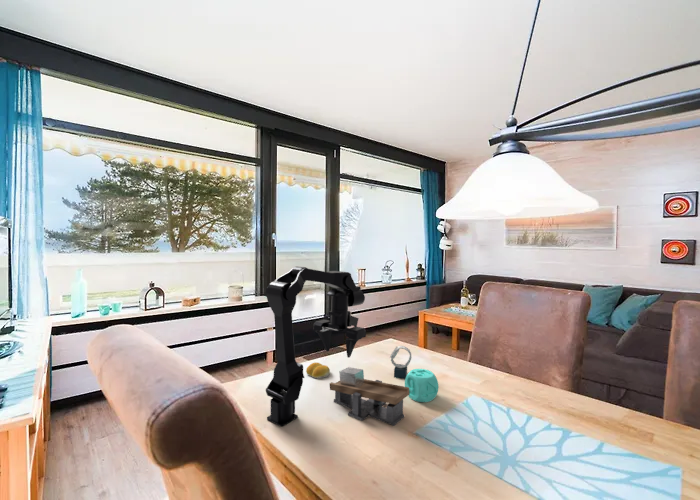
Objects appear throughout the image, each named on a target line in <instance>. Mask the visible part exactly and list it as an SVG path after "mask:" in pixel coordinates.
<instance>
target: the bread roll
mask: <svg viewBox="0 0 700 500" xmlns="http://www.w3.org/2000/svg"><path fill="white" fill-rule="evenodd" d="M330 370H331V369H330V367H329V366H328V365H324V364H322V363H320V362H312V363H311V364H309V365H308V366H307V367H306V369H305V373H306V374H307V376H309V377H312V378H313V379H323V378H326V377H328V376H329V375H330V373H331V371H330Z"/></svg>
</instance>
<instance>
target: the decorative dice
mask: <svg viewBox="0 0 700 500" xmlns="http://www.w3.org/2000/svg"><path fill="white" fill-rule="evenodd" d="M404 387H409V395H408V396H407V397H409V398H410V399H411V400H413V401H414V402H418V403H429V402H431V401H433V400H434V399H435V398H436V397H437V396H438V393H439V389H440V388H439V387H440V386H439V381H438V378H437V377H436V375H435V373H433V372H432V371H431V370H429V369H425V368H413V369H411V370H410V371H409V372H407V376H406V378H405V379H404Z"/></svg>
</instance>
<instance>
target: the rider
mask: <svg viewBox="0 0 700 500" xmlns="http://www.w3.org/2000/svg"><path fill="white" fill-rule="evenodd" d="M364 379H365V375H364V369H361V368H355V367H350V366H348V367H346V368H343V369H341V370H339V381H340V384H342V385H346V386H351V387H356V388H358V387H360V386H362V385H363V384H364Z"/></svg>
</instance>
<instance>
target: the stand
mask: <svg viewBox="0 0 700 500" xmlns="http://www.w3.org/2000/svg"><path fill="white" fill-rule="evenodd" d="M375 381H377V382H382V383H383V381H382V380H379V379H375ZM361 396H362V394H360V393H357V392H355V393H354V394H353V395H351V394H346V393H342V392H338V391H334V399H333V403H336V404H338V405H341V406H343V407H346V408H349V409H351V410H350V411H348V412H347V415H348V417H352V418H354V419H356V420H358V421H361V422H363V421H364V420H365V419H367V418H369V417H370V418H373V419H376V420H378V421H381V422H383V423H385V424H388V425H391V426H392V427H395V426H396V425H397V424H398V423H400V422H401V421H402V420H403V419H404V418H405V414H404V399H403V400H401V401H400V402H399V403H397V404H396V405H394V404H390V403H386V402H381V401H377V400H373V399H368V398H367V399H364V398H362V397H361ZM386 404H387V405H386ZM385 405H386V406H385Z"/></svg>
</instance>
